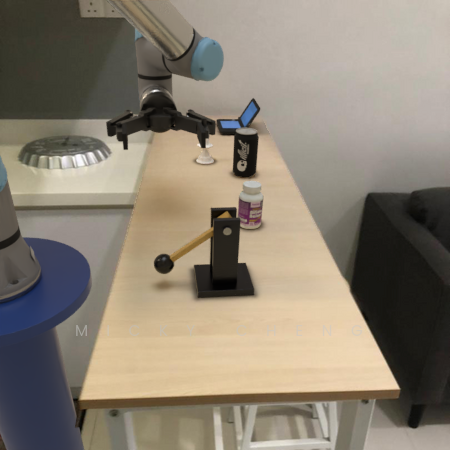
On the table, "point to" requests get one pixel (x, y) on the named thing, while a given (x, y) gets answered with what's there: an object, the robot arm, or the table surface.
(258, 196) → the pill bottle
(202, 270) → the stand
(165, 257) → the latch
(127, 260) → the table surface
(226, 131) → the game console
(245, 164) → the beverage can
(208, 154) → the candle
